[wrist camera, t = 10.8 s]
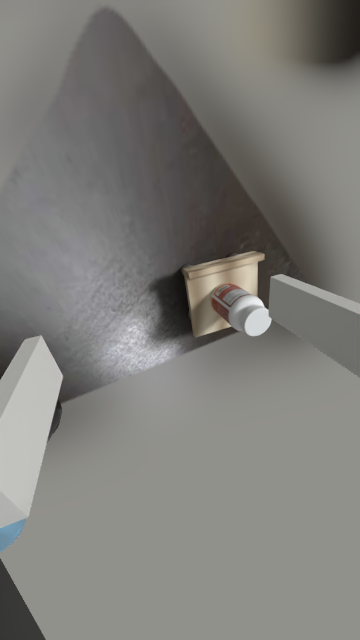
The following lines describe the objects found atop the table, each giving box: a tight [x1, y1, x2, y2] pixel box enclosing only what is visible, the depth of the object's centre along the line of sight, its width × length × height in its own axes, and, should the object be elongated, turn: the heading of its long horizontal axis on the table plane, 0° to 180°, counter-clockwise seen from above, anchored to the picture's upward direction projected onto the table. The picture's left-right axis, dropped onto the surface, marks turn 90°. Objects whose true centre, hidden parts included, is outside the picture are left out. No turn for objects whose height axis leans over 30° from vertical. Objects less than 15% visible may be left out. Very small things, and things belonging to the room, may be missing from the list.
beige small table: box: [181, 251, 264, 337], centre depth 45 cm, size 14×14×8 cm
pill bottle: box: [211, 283, 271, 336], centre depth 38 cm, size 6×6×11 cm
